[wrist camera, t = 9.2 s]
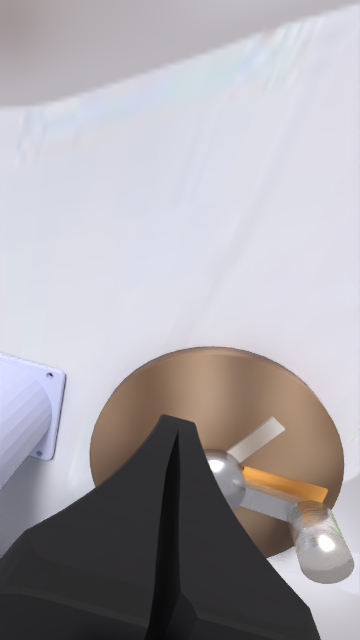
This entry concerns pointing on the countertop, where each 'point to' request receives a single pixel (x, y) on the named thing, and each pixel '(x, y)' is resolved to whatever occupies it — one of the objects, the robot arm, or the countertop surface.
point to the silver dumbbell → (288, 519)
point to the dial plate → (230, 426)
